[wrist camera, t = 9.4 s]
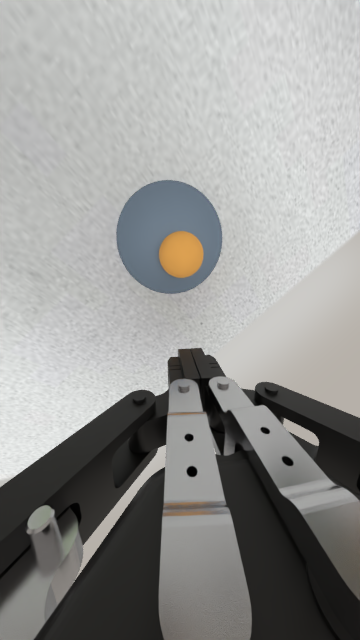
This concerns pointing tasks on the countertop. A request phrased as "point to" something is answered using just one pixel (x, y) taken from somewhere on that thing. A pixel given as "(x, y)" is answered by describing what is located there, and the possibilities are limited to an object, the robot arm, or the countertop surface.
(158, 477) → the robot arm
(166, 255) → the ball
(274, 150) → the countertop surface
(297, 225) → the countertop surface
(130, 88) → the countertop surface
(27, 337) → the countertop surface
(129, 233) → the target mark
